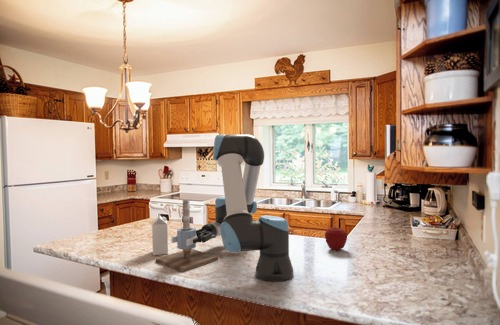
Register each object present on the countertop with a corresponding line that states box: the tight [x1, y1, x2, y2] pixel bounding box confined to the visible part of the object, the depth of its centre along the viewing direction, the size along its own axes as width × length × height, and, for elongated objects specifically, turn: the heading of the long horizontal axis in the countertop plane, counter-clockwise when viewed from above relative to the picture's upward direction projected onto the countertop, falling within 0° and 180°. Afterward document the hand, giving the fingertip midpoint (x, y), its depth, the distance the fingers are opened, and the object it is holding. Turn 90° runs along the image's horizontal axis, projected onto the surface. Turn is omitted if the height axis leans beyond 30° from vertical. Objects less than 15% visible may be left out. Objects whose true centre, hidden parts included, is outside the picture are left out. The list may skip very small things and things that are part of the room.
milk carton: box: [151, 213, 169, 256], centre depth 159 cm, size 7×7×19 cm
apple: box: [324, 226, 348, 252], centre depth 161 cm, size 11×11×12 cm
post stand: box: [155, 198, 219, 273], centre depth 147 cm, size 20×20×28 cm
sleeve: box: [176, 227, 197, 251], centre depth 147 cm, size 8×8×8 cm
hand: (179, 241), depth 143 cm, fingers closed on sleeve, 8 cm apart
